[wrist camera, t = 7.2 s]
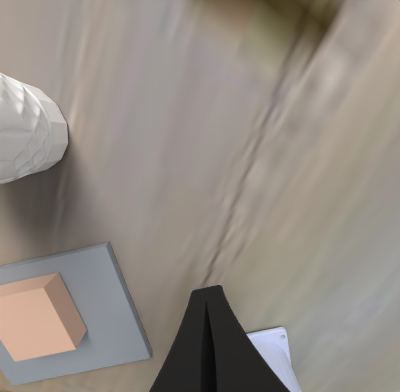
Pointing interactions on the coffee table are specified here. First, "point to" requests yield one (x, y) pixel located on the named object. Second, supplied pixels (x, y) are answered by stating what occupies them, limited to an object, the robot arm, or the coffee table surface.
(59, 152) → the white cup
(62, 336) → the block
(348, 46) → the coffee table surface
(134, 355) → the felt mat
